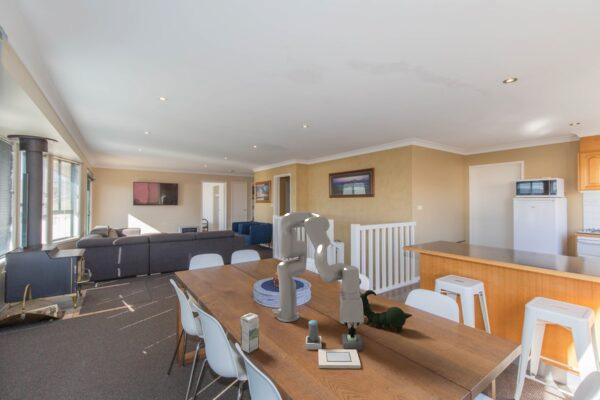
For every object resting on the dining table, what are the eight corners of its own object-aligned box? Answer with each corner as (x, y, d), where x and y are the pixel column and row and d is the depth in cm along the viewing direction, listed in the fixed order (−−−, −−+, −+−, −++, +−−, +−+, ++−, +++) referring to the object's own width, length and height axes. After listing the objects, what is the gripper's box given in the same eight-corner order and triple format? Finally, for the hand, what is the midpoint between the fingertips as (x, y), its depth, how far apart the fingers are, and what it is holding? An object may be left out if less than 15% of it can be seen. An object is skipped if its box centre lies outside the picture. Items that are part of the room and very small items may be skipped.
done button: (348, 346, 118) (347, 338, 118) (346, 341, 122) (346, 333, 122) (357, 346, 118) (357, 338, 118) (355, 341, 122) (355, 334, 122)
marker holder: (305, 349, 118) (305, 343, 118) (306, 341, 124) (306, 335, 124) (321, 349, 117) (321, 343, 117) (321, 341, 124) (321, 335, 124)
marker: (309, 347, 119) (308, 324, 119) (309, 342, 123) (308, 320, 123) (318, 347, 119) (317, 324, 119) (318, 343, 123) (317, 320, 123)
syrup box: (250, 343, 123) (249, 312, 123) (259, 348, 120) (258, 315, 120) (240, 349, 119) (239, 316, 119) (249, 353, 115) (248, 319, 115)
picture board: (318, 368, 104) (318, 364, 104) (318, 352, 115) (318, 349, 115) (360, 368, 103) (360, 364, 103) (356, 352, 114) (356, 349, 114)
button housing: (344, 350, 116) (343, 343, 116) (342, 340, 124) (341, 334, 124) (362, 350, 116) (362, 343, 116) (359, 340, 124) (359, 334, 124)
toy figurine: (360, 329, 138) (412, 337, 125) (356, 291, 139) (407, 295, 126) (366, 322, 146) (415, 329, 133) (362, 286, 147) (411, 289, 134)
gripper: (334, 297, 117) (335, 340, 117) (369, 297, 116) (371, 340, 116) (333, 292, 124) (334, 332, 124) (366, 291, 123) (367, 332, 123)
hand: (352, 336), depth 120 cm, fingers closed
